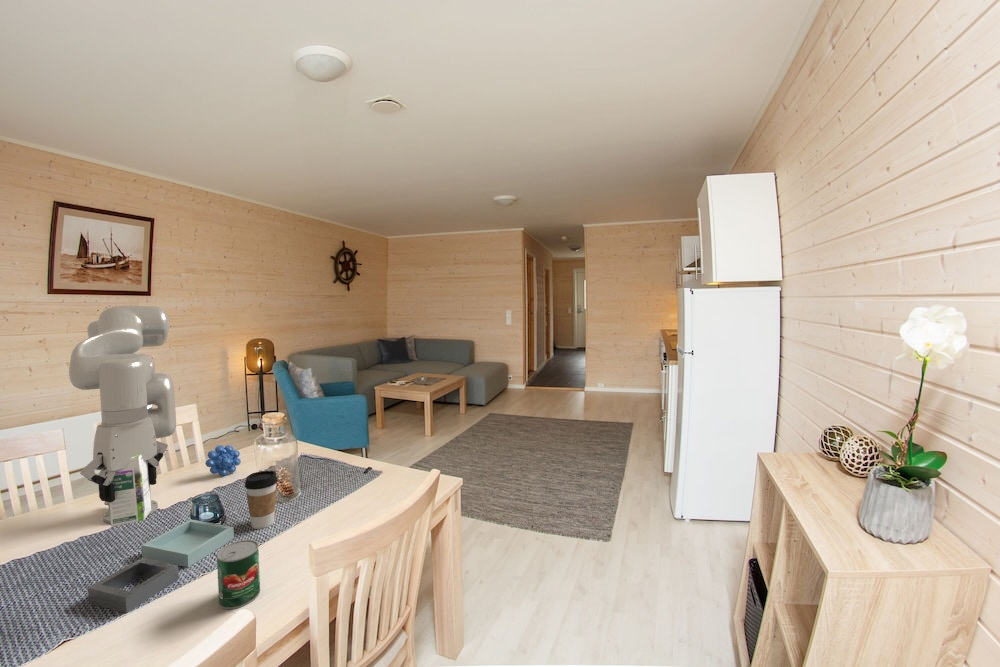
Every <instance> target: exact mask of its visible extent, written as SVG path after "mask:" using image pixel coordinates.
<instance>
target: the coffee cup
mask: <svg viewBox="0 0 1000 667" xmlns="http://www.w3.org/2000/svg"><path fill="white" fill-rule="evenodd" d="M277 484H278V476H277V472H276V471H275V470H261V471H257V472H253V473H250V474H249V475H247V476H246V478H245V482H244V488H245V489H246V499H247V500H246V501H247V506H248V513H249V514H248V515H249V519H250V526H251V528H252V529H255V530H259V529H265V528H268V527H270V526H272V525H273V524H274V522H275V514H276V513H275V512H276V502H277V501H276V500H277Z"/></svg>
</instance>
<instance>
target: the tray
mask: <svg viewBox="0 0 1000 667" xmlns="http://www.w3.org/2000/svg"><path fill="white" fill-rule="evenodd" d="M234 529H235V528H234V526H230V525H223V524H220V523H214V522H208V521H207V522H206V521H201V520H196V519H189V520H187V521H185V522H182V523H181V524H179V525H177V526H175V527H173V528H172V529H171V528H170V529H169V530H167V531H166V532H164V533H162V534H160V535H158V536H157V537H155V538H153V539H151V540H149V541H147V542H145V543H143V544H141V556H142V557H141V558H147V559H151V560H156V561H160V562H165V563H170V564H174V565H178V567H179V566H180V567H185V568H190V567H192V566H193V565H195V564H196V563H198V562H199V561H201V560H202V559H204V558H206V557H207V556H209V555H211V553H214V552H215V551H217V550H218V549H220V548H222V547H224V545H226V544H228V543H229V542H232V540H233V539H234V538H235V534H234V533H235V531H234Z"/></svg>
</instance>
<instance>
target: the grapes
mask: <svg viewBox="0 0 1000 667" xmlns="http://www.w3.org/2000/svg"><path fill="white" fill-rule="evenodd" d="M207 457H208V459H206V460H205V465H206V467H207V468H209V472H210V473H211V474H212V475H216V474H217V475H219V476H220V477H225V476H227V475H228V473H230V474H231V473H232V474H233V473H235V472H236V471H237V466H240V465H241V462H242V461H241V458H239V457H240V451H239V450H238V449H236V450H234V447H233V445H232V444H231V445H230V444H229V445H225V446H223V445H217V446H216V447H215V448H214V450H211V451H209V452H208V453H207Z"/></svg>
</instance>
